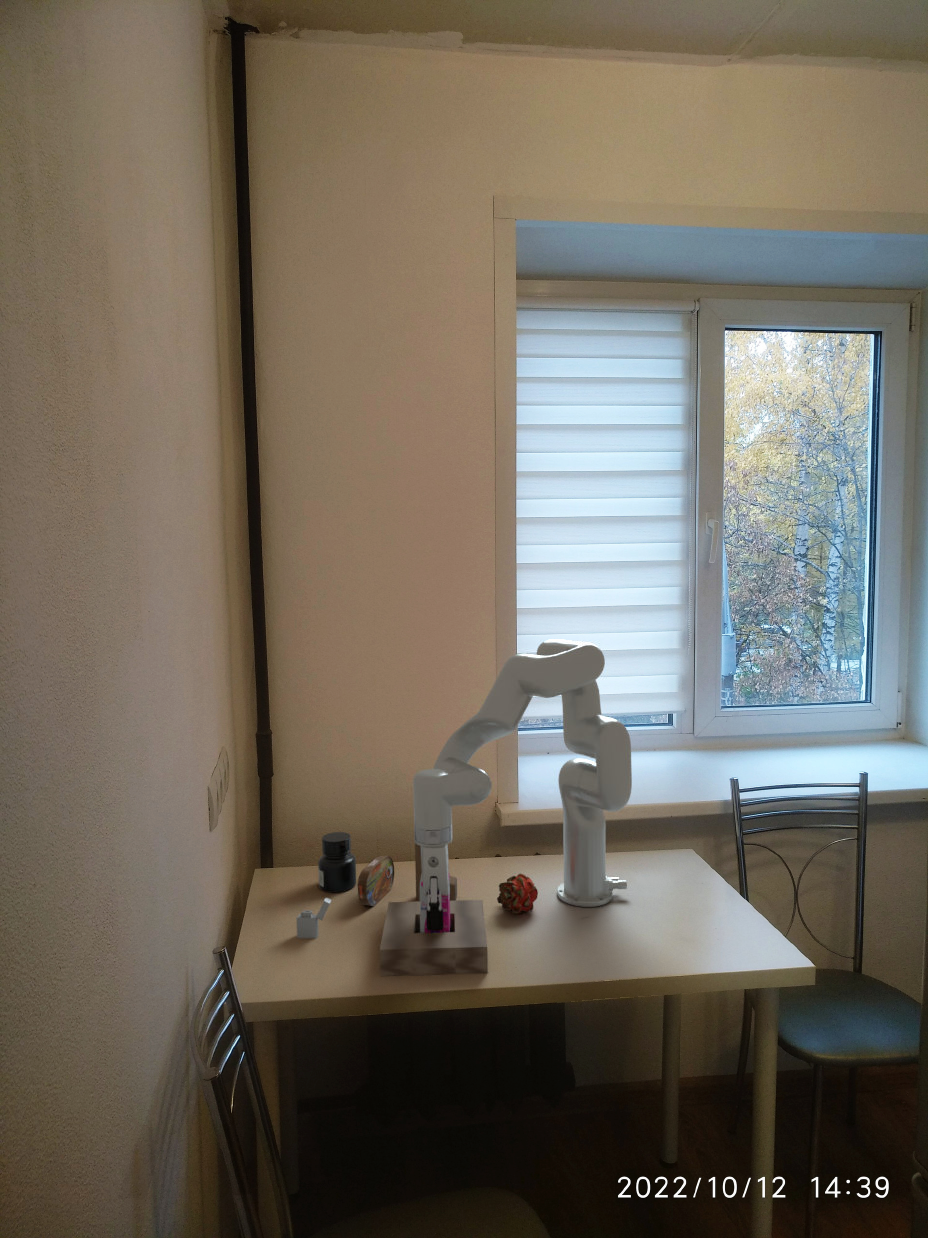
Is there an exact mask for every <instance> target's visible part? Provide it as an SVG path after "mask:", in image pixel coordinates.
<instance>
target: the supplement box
mask: <svg viewBox="0 0 928 1238" xmlns="http://www.w3.org/2000/svg"><path fill="white" fill-rule="evenodd" d="M450 876H451V875H450V873H449V894H448V895H447V896H445V895H442V894H441V895H442V896H441V903H442V909H443V930H436V931H428V930H427V914H426V910H427V897H426V896H425V895H424V891H423V881H422V874H421V880H420V933H443V932H450ZM430 883H431V882H430ZM429 894H431V891H429ZM437 894H439V890H437ZM430 901H431V898H430ZM437 901H438V902H439V897H437Z"/></svg>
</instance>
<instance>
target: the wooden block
mask: <svg viewBox="0 0 928 1238" xmlns="http://www.w3.org/2000/svg"><path fill="white" fill-rule="evenodd" d="M414 854H415V855H414V859H415V861H414V863H415V864H414V867H415V868H414V869H415V902H417V901H420V880H421V874H422V867H421V846H420V845H417V844H416V843H415V842H414ZM457 898H458V878H457V877H456V876H451V875H450V901H457Z"/></svg>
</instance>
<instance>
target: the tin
mask: <svg viewBox="0 0 928 1238" xmlns="http://www.w3.org/2000/svg"><path fill="white" fill-rule="evenodd" d="M394 879H395V864H394V861H393V858H392V857H391V856H389V855H381V856H377V857H375V858H374V859H373V860H372V861H371V862H370V863H368V865H366V866H365V867H364V868H363V869H362V870H361V871H360V874H359V876H358V879H357V883H356V885H357V896H358V901H359V902H360V904H361V905H363V906H369V907H374V906H376V905H377V904H378V903H379V902H380V901H381V900H382V899H383V898H384V897H385V896H386V895H387V894H388V893H389V892H390V891H391V889H392V886H393V884H394Z"/></svg>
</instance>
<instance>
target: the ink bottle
mask: <svg viewBox="0 0 928 1238" xmlns="http://www.w3.org/2000/svg"><path fill="white" fill-rule="evenodd" d="M351 839H352V837H351V834H350V833H348V832H345V831H334V832H330V833H326V834H324V835H323V836H322V837H321V846H322V847H321V848H322V855H321V856H320V858H319V859H318V864H317V867H318V869H317V870H318V887H319V889H320V890H322V891H323V892H327V893H343V892H346V891H348V890H351V889H352V888H354V887H355V886H356V885H357V864H356V863H357V861H356V856H355V855H354V853H352V852H351V851H352V840H351Z"/></svg>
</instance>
